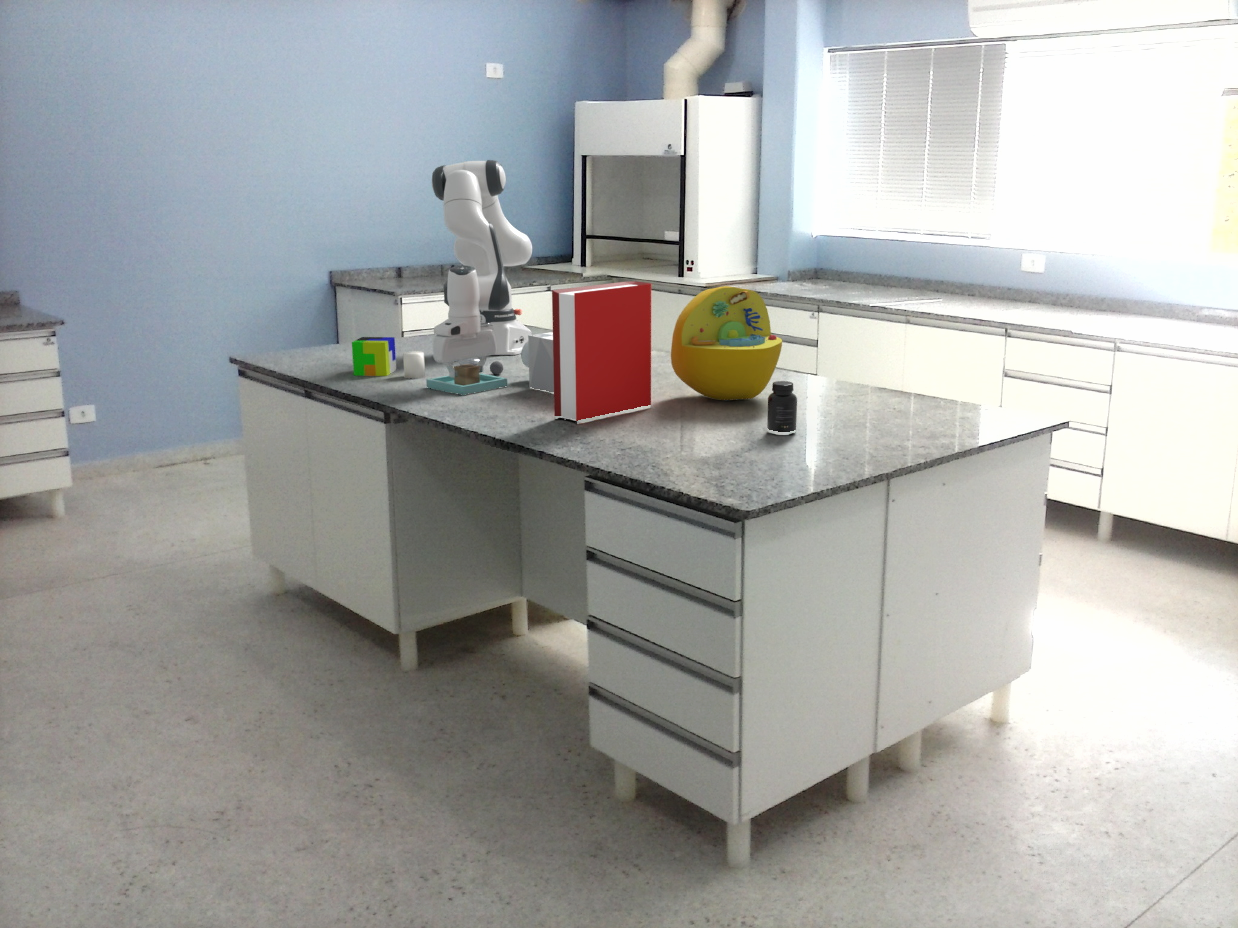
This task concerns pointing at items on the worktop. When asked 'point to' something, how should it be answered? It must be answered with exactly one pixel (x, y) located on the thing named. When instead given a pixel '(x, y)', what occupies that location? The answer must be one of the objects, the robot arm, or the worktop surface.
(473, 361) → the grey metal dome
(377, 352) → the puzzle toy
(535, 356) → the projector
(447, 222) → the robot arm
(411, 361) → the ceramic jar
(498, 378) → the tray
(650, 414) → the worktop surface
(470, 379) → the walnut block
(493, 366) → the rubber ball
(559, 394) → the book
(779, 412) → the supplement bottle
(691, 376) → the educational model
